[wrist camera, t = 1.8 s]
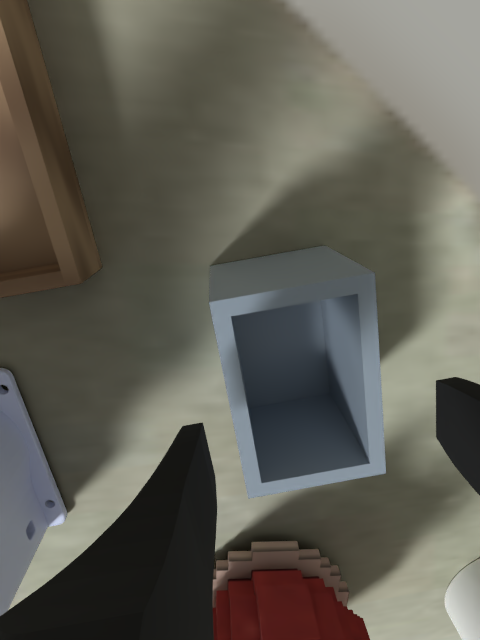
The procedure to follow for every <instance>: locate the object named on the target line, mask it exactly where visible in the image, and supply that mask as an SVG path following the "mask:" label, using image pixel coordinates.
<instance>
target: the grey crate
mask: <svg viewBox="0 0 480 640" xmlns="http://www.w3.org/2000/svg"><path fill="white" fill-rule="evenodd" d="M209 305H210V310H211V315H212V320H213V325H214V330H215V334H216V339H217V344H218V349H219V354H220V359H221V364H222V369H223V374H224V379H225V384H226V389H227V394H228V399H229V404H230V409H231V414H232V419H233V424H234V429H235V434H236V439H237V444H238V449H239V454H240V459H241V464H242V469H243V474H244V479H245V484H246V489H247V494H248V499H249V498H254V497H260V496H265V495H271V494H276V493H282V492H287V491H293V490H298V489H303V488H309V487H314V486H320V485H325V484H331V483H336V482H342V481H347V480H353V479H358V478H363V477H369V476H374V475H380V474H385V473H386V463H385V445H384V427H383V409H382V391H381V373H380V354H379V336H378V318H377V300H376V282H375V272H373V271H371V270H369V269H368V268H366V267H364V266H362V265H360V264H358V263H357V262H355V261H353V260H351V259H349V258H347V257H346V256H344V255H342V254H340V253H338V252H336V251H335V250H333V249H331V248H329V247H327V246H325V245H324V246H318V247H313V248H307V249H302V250H296V251H290V252H285V253H279V254H274V255H268V256H262V257H257V258H251V259H246V260H240V261H234V262H229V263H223V264H218V265H212V266H210V284H209Z"/></svg>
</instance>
